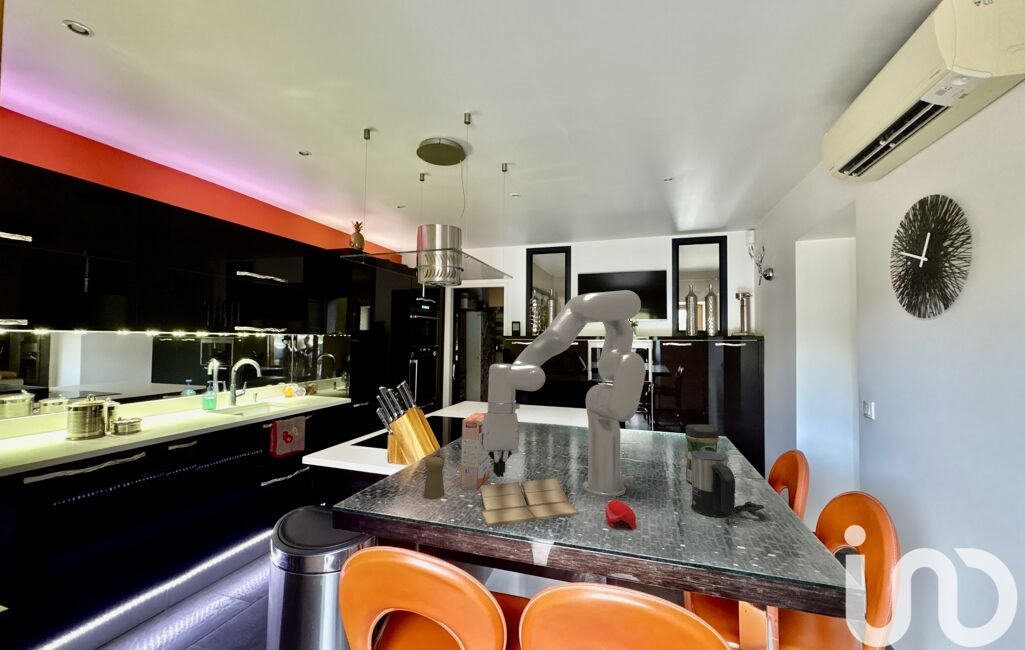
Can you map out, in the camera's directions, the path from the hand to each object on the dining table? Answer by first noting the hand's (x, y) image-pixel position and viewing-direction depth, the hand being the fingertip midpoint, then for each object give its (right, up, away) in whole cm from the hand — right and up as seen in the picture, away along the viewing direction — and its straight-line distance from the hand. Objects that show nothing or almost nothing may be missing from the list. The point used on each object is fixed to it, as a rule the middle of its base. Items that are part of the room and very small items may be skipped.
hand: (499, 475), depth 111 cm
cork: (-19, -8, +3) cm, 20 cm away
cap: (+30, -8, -14) cm, 34 cm away
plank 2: (+12, -6, +1) cm, 14 cm away
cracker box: (-8, -8, +15) cm, 19 cm away
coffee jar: (+65, -10, +18) cm, 68 cm away
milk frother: (+60, -8, -4) cm, 61 cm away
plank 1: (+1, -6, -2) cm, 6 cm away
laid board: (+8, -7, -9) cm, 14 cm away
